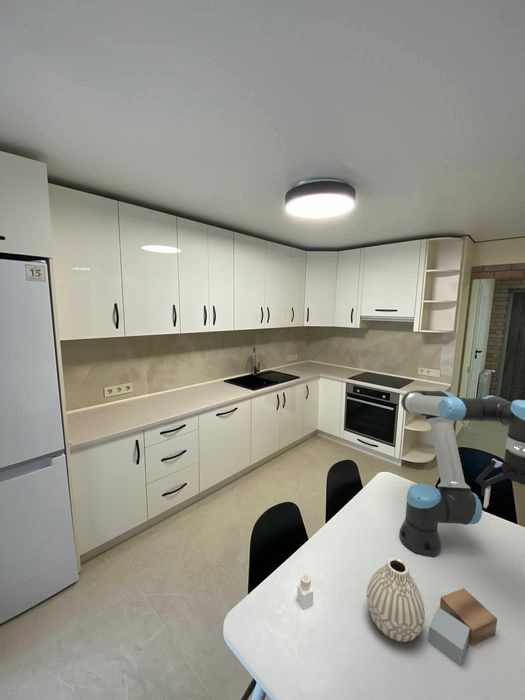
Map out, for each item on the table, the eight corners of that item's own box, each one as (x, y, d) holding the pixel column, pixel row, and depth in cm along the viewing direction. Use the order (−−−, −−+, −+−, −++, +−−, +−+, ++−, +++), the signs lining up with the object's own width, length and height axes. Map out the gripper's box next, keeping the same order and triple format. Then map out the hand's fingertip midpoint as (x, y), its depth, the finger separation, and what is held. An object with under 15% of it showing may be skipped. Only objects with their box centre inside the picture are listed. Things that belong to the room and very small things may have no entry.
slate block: (427, 644, 83) (429, 625, 82) (436, 624, 88) (438, 606, 87) (460, 669, 77) (462, 650, 76) (467, 646, 82) (470, 628, 81)
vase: (358, 597, 96) (362, 542, 93) (407, 599, 95) (412, 544, 93) (375, 653, 80) (380, 589, 77) (434, 656, 80) (440, 592, 77)
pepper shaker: (296, 600, 94) (297, 575, 93) (306, 596, 96) (307, 570, 95) (302, 612, 91) (303, 585, 89) (313, 607, 92) (314, 581, 91)
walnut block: (439, 613, 91) (440, 597, 90) (461, 604, 94) (463, 587, 94) (470, 648, 82) (472, 630, 81) (494, 636, 85) (497, 618, 84)
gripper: (468, 441, 94) (461, 501, 96) (583, 475, 75) (570, 549, 77) (475, 435, 98) (468, 493, 101) (584, 465, 79) (572, 535, 82)
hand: (512, 517), depth 89 cm, fingers open, 13 cm apart
